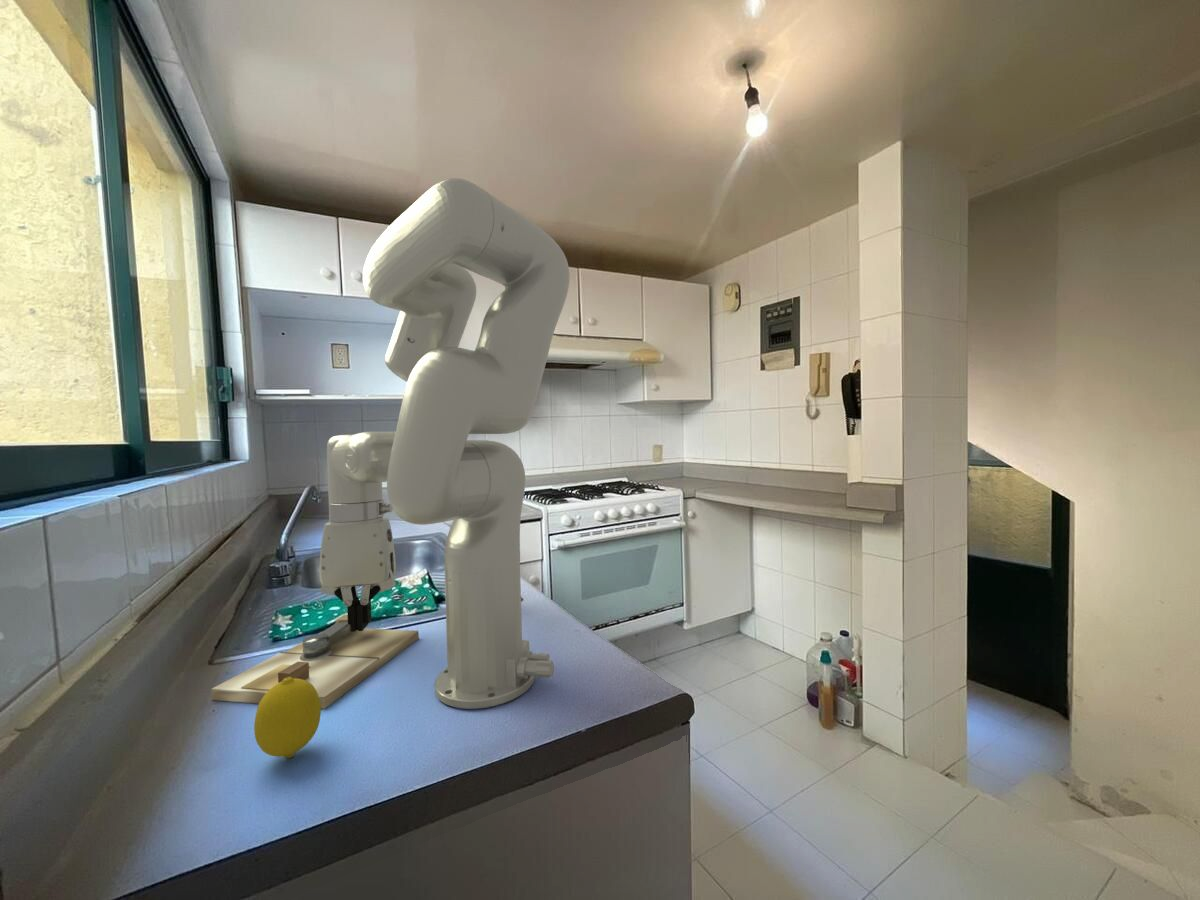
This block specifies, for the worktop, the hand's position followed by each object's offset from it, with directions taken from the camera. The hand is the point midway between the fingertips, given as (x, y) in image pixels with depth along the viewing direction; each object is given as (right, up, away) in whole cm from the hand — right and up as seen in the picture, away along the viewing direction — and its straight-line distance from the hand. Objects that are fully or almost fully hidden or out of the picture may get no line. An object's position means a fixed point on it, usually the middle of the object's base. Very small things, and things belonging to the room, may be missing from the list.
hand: (360, 627), depth 72 cm
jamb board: (-1, -3, -7) cm, 7 cm away
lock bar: (-3, -1, -2) cm, 4 cm away
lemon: (+7, -3, -26) cm, 27 cm away
